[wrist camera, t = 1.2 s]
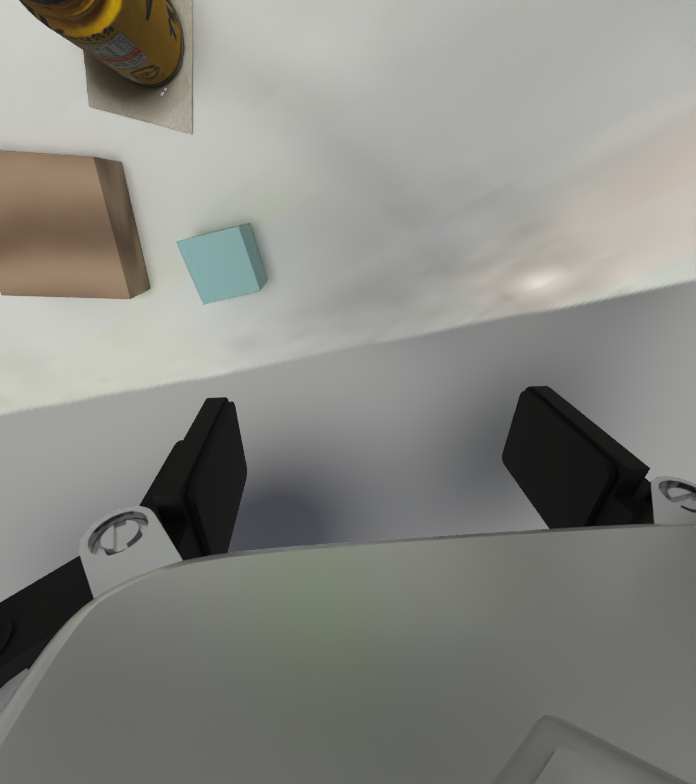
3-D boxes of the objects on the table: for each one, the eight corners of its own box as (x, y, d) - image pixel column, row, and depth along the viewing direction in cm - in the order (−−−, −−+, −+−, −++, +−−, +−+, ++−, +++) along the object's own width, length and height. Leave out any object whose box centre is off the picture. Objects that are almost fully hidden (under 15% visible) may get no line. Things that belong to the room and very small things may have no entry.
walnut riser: (-15, 153, 26) (-65, 146, 23) (121, 162, 27) (93, 156, 24) (36, 284, 31) (1, 295, 28) (150, 288, 32) (130, 299, 29)
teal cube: (196, 236, 30) (176, 241, 26) (249, 223, 30) (238, 226, 26) (218, 291, 33) (203, 304, 29) (267, 279, 33) (260, 290, 28)
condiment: (192, -18, 23) (89, -200, 13) (192, 134, 27) (114, 91, 16) (72, -58, 22) (-153, -299, 11) (91, 107, 26) (-63, 42, 15)
